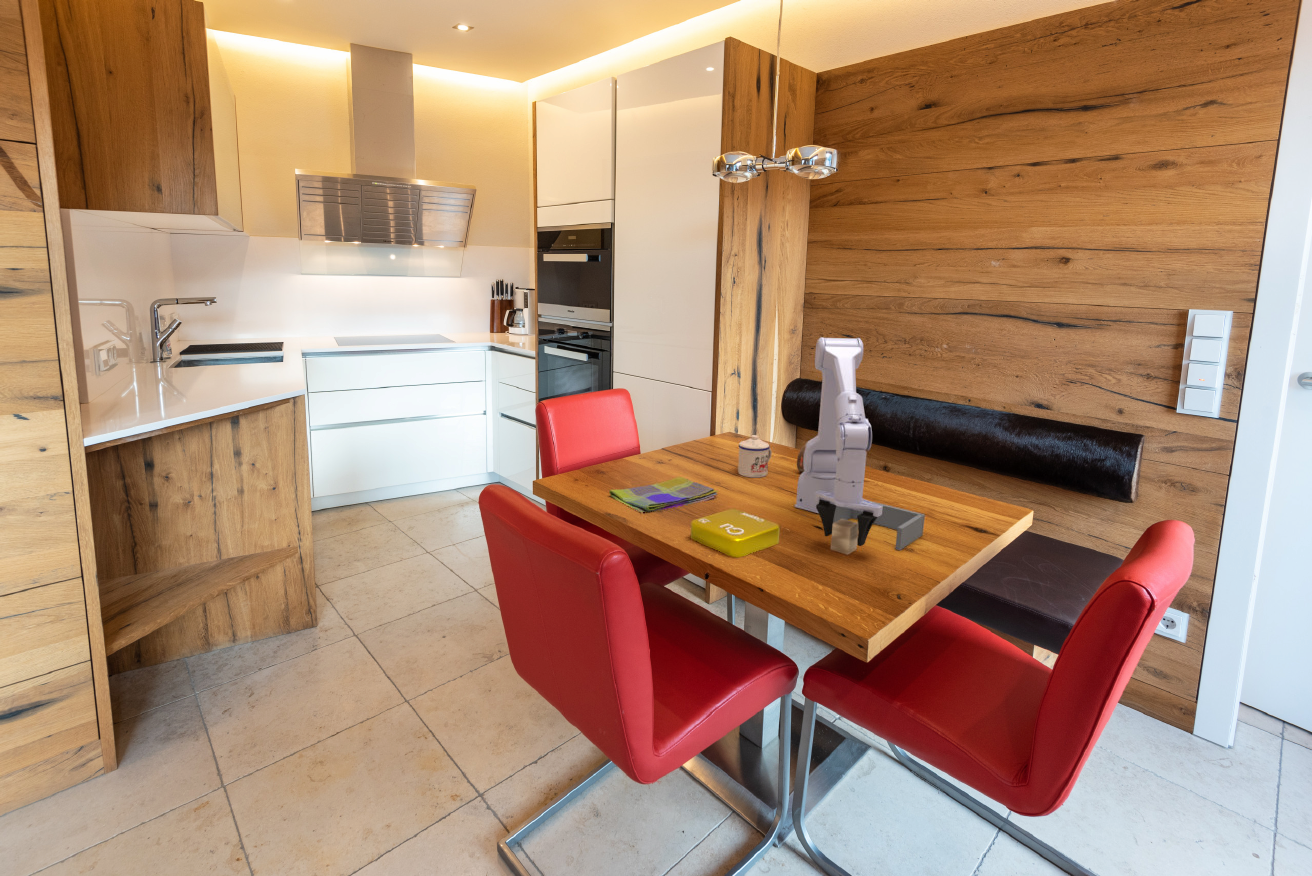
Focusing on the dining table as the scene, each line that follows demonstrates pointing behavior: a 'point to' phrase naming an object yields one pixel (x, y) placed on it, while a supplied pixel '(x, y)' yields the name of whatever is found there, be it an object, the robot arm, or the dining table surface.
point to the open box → (891, 522)
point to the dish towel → (664, 495)
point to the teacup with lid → (753, 457)
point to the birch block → (844, 536)
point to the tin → (801, 459)
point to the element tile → (735, 532)
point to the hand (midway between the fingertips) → (844, 539)
